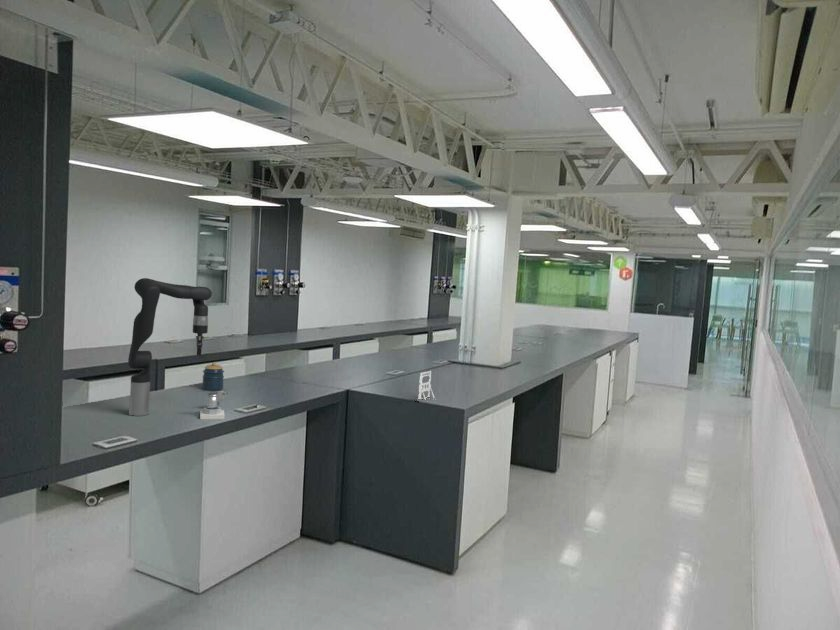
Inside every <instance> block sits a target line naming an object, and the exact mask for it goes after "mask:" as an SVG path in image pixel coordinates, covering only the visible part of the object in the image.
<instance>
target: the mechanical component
mask: <svg viewBox="0 0 840 630" xmlns="http://www.w3.org/2000/svg"><path fill="white" fill-rule="evenodd" d="M210 393H213V391H210ZM215 393H217V394H218V397H217V407H220V402H221V399H222V400H223V399H226V398H227V395H228V391H226V390H219V391H215Z"/></svg>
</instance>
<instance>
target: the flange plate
mask: <svg viewBox="0 0 840 630" xmlns="http://www.w3.org/2000/svg"><path fill="white" fill-rule="evenodd" d="M225 416H226V415H225V410H224V409H222V407H221V406H219V407H217V409H207V406H204V407H203V410H202V409H200V415H199V417H200V418H199V420H225Z"/></svg>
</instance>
